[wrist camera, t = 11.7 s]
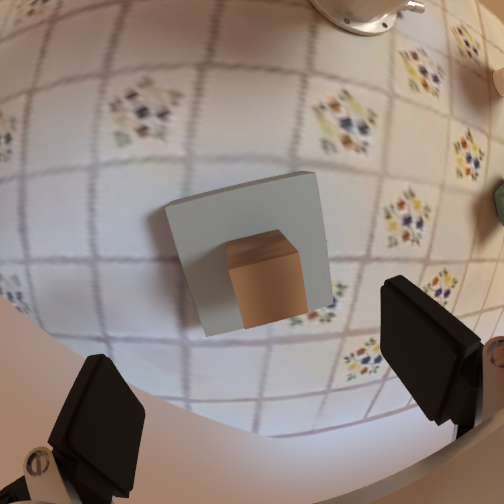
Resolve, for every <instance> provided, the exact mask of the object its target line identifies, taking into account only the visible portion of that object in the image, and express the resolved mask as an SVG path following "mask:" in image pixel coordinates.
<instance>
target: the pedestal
mask: <svg viewBox="0 0 504 504" xmlns="http://www.w3.org/2000/svg"><path fill="white" fill-rule="evenodd" d="M165 211H166V215H167V218H168V222H169V225H170V229H171V232H172V236H173V239H174V242H175V246H176V249H177V252H178V255H179V259H180V262H181V265H182V268H183V271H184V274H185V277H186V280H187V283H188V286H189V289H190V292H191V295H192V298H193V301H194V304H195V307H196V310H197V313H198V315H199V318H200V321H201V324H202V327H203V329H204V332H205V335H206V337H208V336H213V335H217V334H222V333H226V332H231V331H235V330H239V329H243V328H245V327H244V324H243V320H242V317H241V313H240V310H239V306H238V303H237V299H236V295H235V292H234V288H233V284H232V281H231V277H230V273H229V269H228V261H227V252H226V243H225V242H227V241H231V240H235V239H239V238H243V237H247V236H251V235H255V234H259V233H264V232H268V231H272V230H276V229H279V230H280V231H281V233H282V234H283V235H284V236H285V237H286V238H287V239H288V240H289V242H290V243H291V244H292V245H293V246H294V247H295V248H296V249H297V251H298V252H299V255H300V261H301V267H302V273H303V279H304V286H305V292H306V299H307V306H308V311H312V310H315V309H318V308H322V307H325V306H329V305H332V304H333V296H332V286H331V276H330V267H329V259H328V251H327V243H326V236H325V229H324V222H323V215H322V209H321V202H320V196H319V190H318V184H317V179H316V173H315V172H308V171H299V172H294V173H289V174H284V175H279V176H274V177H269V178H265V179H260V180H255V181H251V182H247V183H242V184H238V185H234V186H229V187H225V188H221V189H217V190H213V191H209V192H205V193H201V194H197V195H194V196H190V197H186V198H182V199H179V200H175V201H171V202H170V203H169V204H168V205H167V206H166V207H165Z"/></svg>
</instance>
